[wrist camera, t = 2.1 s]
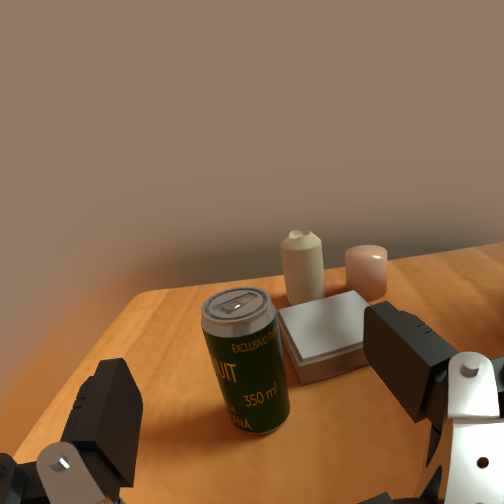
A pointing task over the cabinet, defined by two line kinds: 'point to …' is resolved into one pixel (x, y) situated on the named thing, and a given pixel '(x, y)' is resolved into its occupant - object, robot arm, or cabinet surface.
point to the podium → (324, 336)
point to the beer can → (247, 357)
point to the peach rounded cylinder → (366, 271)
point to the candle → (303, 267)
